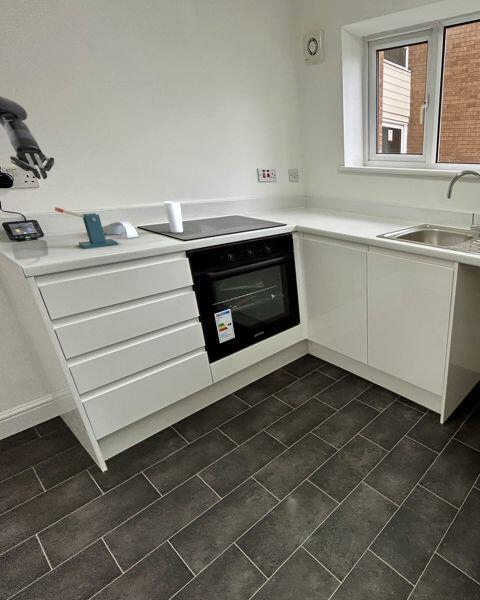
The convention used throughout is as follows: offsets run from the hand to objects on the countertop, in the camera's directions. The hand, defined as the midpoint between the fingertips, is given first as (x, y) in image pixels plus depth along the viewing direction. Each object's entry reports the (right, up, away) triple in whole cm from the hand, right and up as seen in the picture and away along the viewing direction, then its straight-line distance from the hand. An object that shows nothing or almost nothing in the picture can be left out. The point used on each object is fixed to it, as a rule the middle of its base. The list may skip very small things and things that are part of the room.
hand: (42, 177), depth 139 cm
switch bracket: (+14, -25, +10) cm, 31 cm away
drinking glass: (+28, -14, +40) cm, 51 cm away
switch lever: (+12, -16, +2) cm, 20 cm away
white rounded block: (+8, -18, +30) cm, 35 cm away
